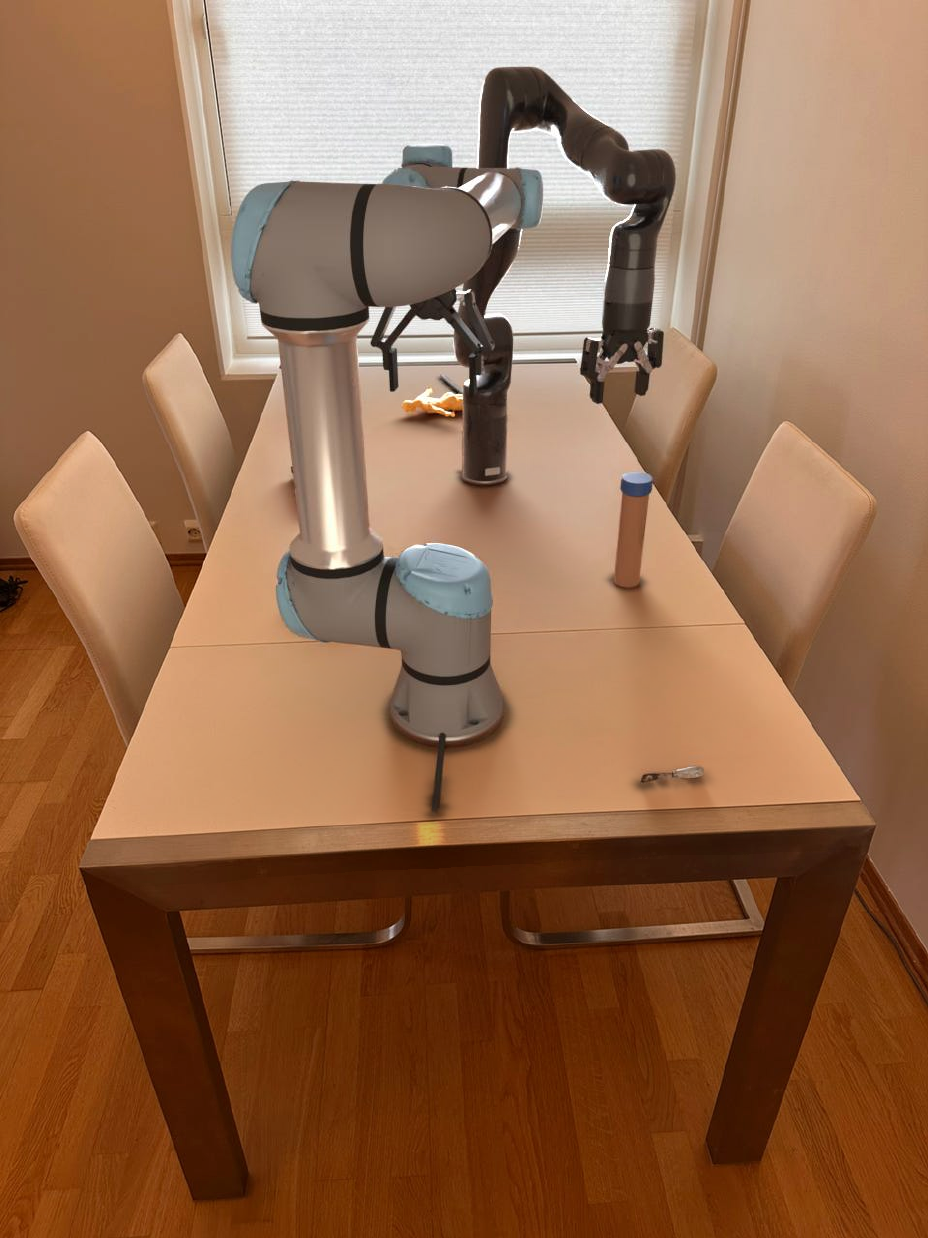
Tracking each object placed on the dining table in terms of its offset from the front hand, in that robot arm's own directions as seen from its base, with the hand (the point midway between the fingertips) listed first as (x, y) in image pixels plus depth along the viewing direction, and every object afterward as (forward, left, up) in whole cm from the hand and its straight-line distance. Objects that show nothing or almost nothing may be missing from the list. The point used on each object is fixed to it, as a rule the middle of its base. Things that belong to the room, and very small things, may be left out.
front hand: (433, 391), depth 149 cm
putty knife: (-57, -43, -28) cm, 77 cm away
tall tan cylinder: (-8, -35, -28) cm, 46 cm away
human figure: (+71, +14, -28) cm, 78 cm away
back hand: (+3, -31, 0) cm, 31 cm away
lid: (-8, -35, -9) cm, 37 cm away
